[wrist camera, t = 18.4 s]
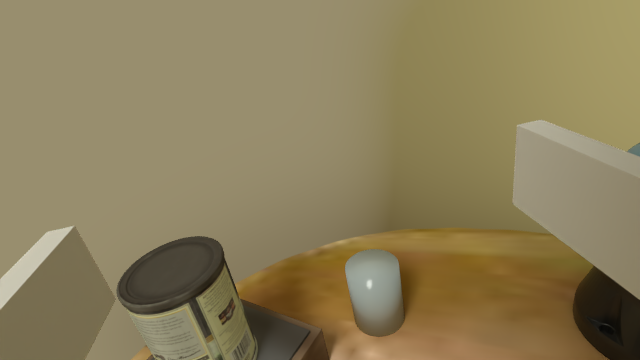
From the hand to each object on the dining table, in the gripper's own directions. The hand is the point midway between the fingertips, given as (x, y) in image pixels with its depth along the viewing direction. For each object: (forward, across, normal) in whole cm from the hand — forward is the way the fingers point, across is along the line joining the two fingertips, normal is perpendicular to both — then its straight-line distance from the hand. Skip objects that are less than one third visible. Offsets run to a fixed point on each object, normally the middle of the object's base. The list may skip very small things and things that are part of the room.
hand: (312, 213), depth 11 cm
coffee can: (+22, -14, -29) cm, 39 cm away
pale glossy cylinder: (+28, +6, -35) cm, 45 cm away
